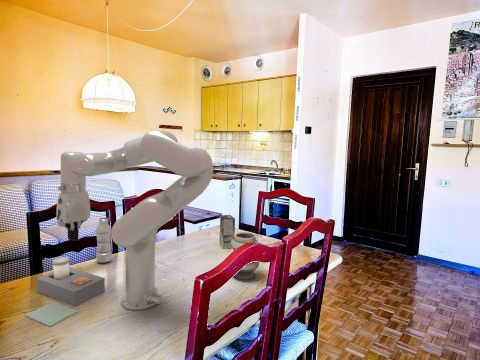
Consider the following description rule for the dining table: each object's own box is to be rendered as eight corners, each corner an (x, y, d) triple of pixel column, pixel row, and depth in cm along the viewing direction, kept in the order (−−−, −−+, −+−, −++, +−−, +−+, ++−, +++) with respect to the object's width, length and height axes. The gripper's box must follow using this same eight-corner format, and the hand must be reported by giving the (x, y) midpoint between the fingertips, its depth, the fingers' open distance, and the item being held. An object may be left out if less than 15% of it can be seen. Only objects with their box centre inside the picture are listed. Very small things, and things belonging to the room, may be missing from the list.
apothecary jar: (224, 272, 132) (226, 232, 130) (249, 268, 137) (251, 229, 135) (237, 284, 121) (239, 240, 119) (263, 279, 127) (265, 237, 124)
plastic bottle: (106, 265, 135) (105, 220, 132) (92, 263, 136) (91, 219, 134) (115, 260, 141) (114, 217, 138) (102, 258, 142) (101, 216, 140)
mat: (77, 312, 98) (77, 311, 98) (50, 327, 90) (50, 325, 90) (53, 302, 103) (53, 301, 103) (24, 316, 95) (24, 314, 95)
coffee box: (234, 248, 163) (235, 218, 161) (222, 249, 161) (223, 219, 159) (229, 242, 171) (230, 214, 170) (218, 243, 170) (219, 215, 168)
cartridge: (73, 286, 114) (72, 258, 113) (60, 292, 110) (58, 263, 108) (64, 283, 116) (63, 255, 115) (50, 289, 112) (49, 260, 110)
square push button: (91, 292, 110) (90, 277, 109) (80, 298, 106) (80, 282, 105) (82, 290, 111) (82, 275, 111) (72, 295, 108) (71, 279, 107)
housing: (104, 291, 112) (104, 277, 112) (74, 306, 101) (74, 291, 101) (68, 278, 120) (67, 266, 120) (36, 291, 110) (36, 278, 109)
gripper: (60, 192, 97) (60, 248, 99) (99, 187, 110) (98, 236, 113) (44, 189, 100) (45, 243, 102) (84, 184, 113) (84, 232, 116)
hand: (73, 239), depth 107 cm, fingers closed
